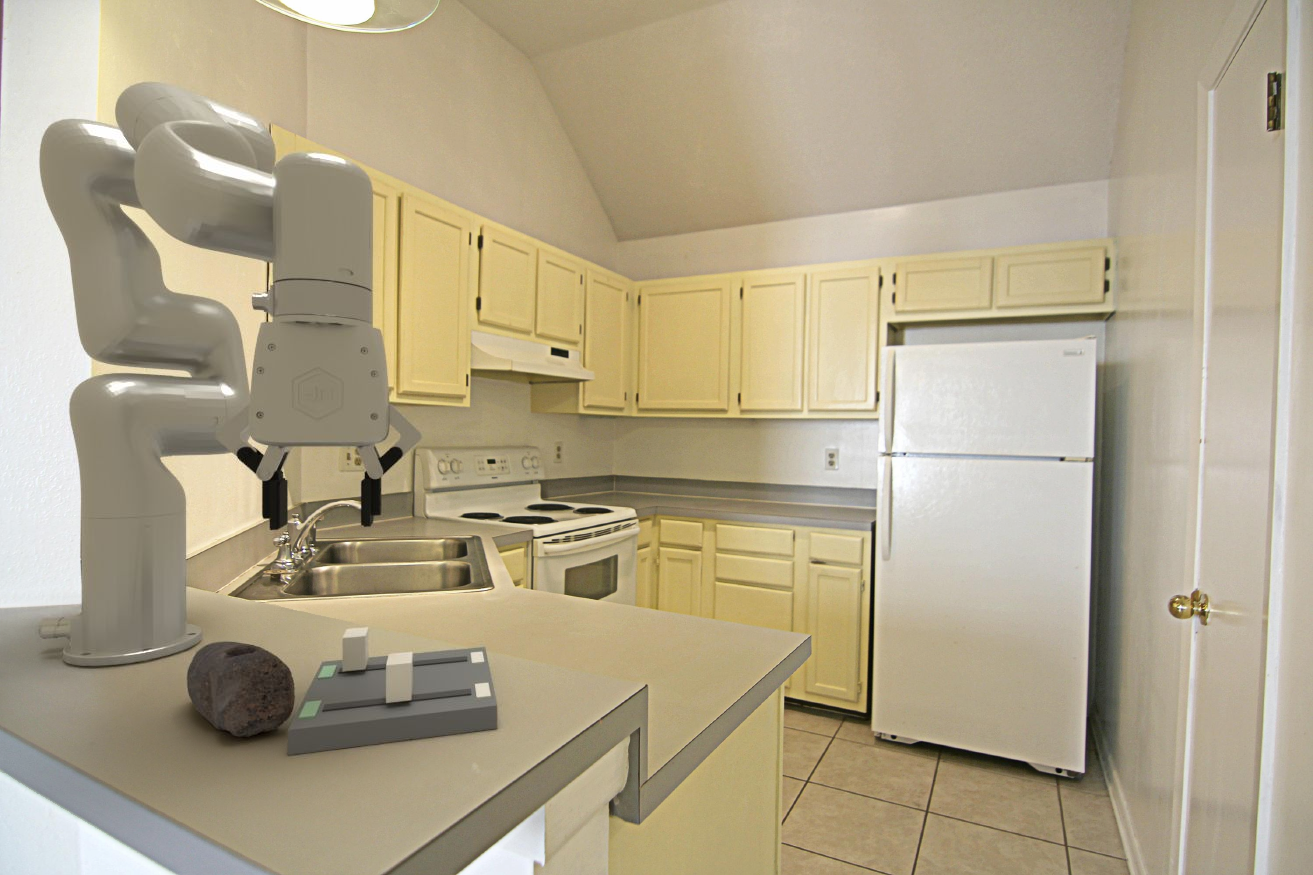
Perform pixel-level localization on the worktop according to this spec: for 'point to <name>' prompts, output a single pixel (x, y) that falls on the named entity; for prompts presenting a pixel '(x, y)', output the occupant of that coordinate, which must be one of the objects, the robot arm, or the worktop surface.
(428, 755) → the worktop surface
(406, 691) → the block
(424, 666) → the slider switch panel
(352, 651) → the block
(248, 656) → the perforated stone tool
